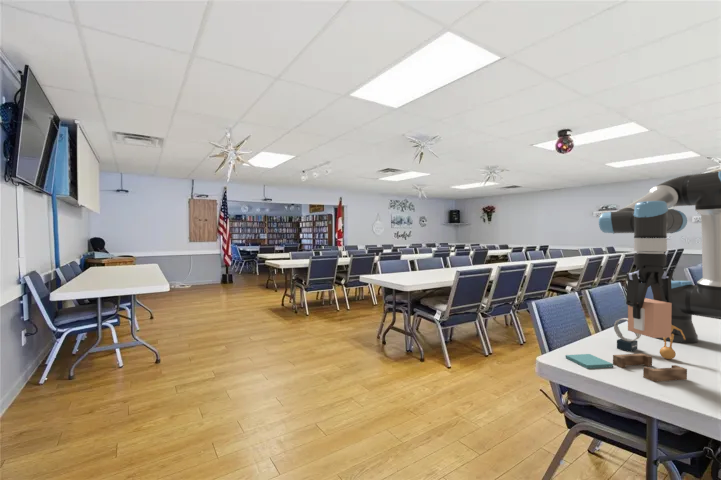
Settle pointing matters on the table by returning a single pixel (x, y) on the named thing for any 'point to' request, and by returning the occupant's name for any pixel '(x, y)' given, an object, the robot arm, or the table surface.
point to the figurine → (668, 351)
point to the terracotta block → (653, 319)
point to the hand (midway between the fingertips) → (648, 328)
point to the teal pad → (589, 361)
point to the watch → (625, 339)
